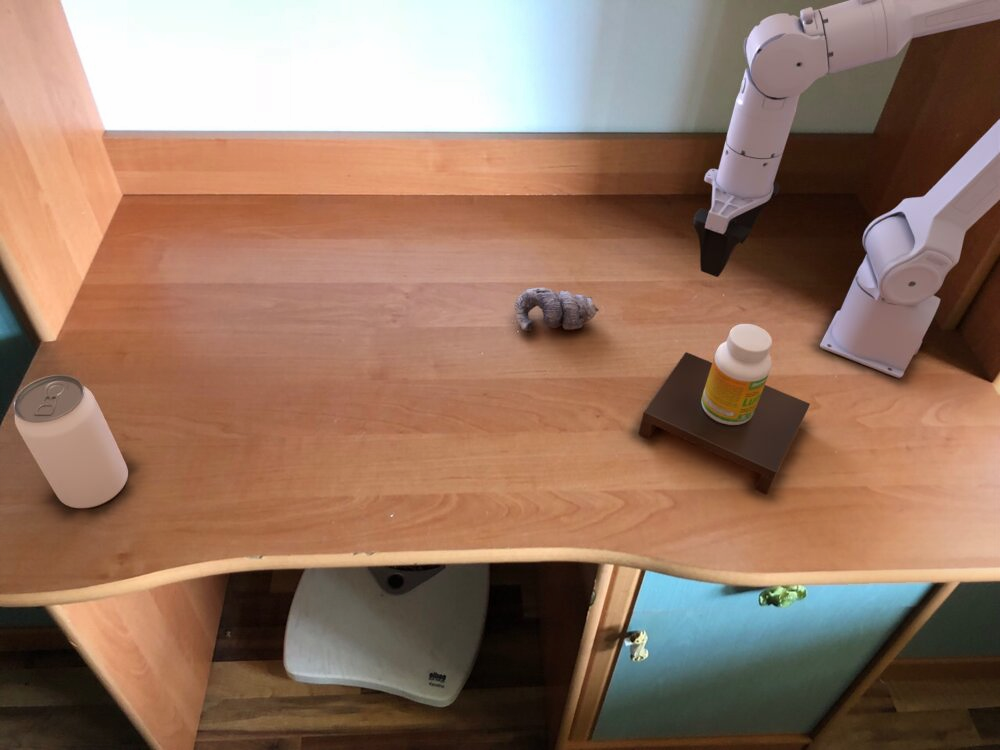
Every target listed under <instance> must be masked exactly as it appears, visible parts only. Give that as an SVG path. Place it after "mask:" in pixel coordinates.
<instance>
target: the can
mask: <svg viewBox="0 0 1000 750" xmlns="http://www.w3.org/2000/svg"><path fill="white" fill-rule="evenodd" d="M12 410H13V413H14V424H15V427H16V429H17V431H18V433H19V435H20V436H21V438H22V440H23V442H24V443H25V445H26V446H27V448H28V450H29V451H30V453H31V455H32V457H33V459H34V460H35V462H36V464H37V465H38V467H39V468H40V470H41V472H42V474H43V475H44V477H45V479H46V480H47V482H48V485H49V486H50V487H51V489H52V490H53V492H54V493H55V495H56V497H57V498H58V500H59V501H60V502H61V503H62V504H63V505H64V506H67V507H70V508H75V509H91V508H95V507H98V506H101V505H104V504H105V503H108V502H109V501H111V500H112V499H114V498H115V497H116V496H117V495H118V494H119V493H120V492H121V491H122V490H123V488H124V486H125V485H126V483H127V481H128V477H129V470H128V465H127V464H126V463H127V462H126V461H125V458H124V457H123V455H122V453H121V451H120V449H119V446H118V444H117V442H116V439H115V438H114V436H113V432H112V431H111V428H110V426H109V424H108V422H107V420H106V418H105V416H104V414H103V412H102V410H101V408H100V406H99V403H98V402H97V400H96V397H95V396H94V394H93V392H92V391H91V390H90V389H89V388H87V387H86V386H84V384H83V383H82V381H81V380H80V379H79V378H77V377H76V376H73V375H69V374H52V375H46V376H42V377H39V378H38V379H35V380H33V381H31V382H29V383H28V384H26V385H24V387H23V388H21V389H20V391H18V393H16V395H15V397H14V399H13V402H12Z"/></svg>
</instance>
